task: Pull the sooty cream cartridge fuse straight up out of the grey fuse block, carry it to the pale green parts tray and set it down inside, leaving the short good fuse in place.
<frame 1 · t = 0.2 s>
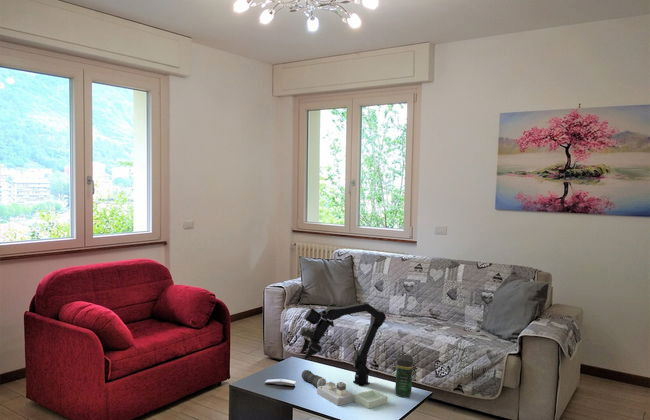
hand: (303, 355, 254), 15 cm above the table, tool tilted 30°, fingers open, 9 cm apart
parts tray: (370, 402, 238), on the table
good fuse: (330, 394, 244), resting in fuse block
coffee jar: (403, 394, 250), on the table
blown fuse: (340, 400, 238), resting in fuse block
flashlight: (313, 384, 257), on the table
fuse block: (335, 397, 241), on the table
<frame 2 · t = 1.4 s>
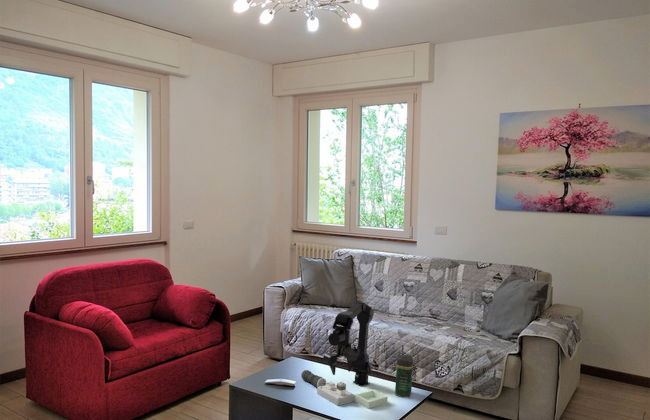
hand: (341, 373, 238), 13 cm above the table, tool pointing down, fingers open, 9 cm apart
nothing on the table moved.
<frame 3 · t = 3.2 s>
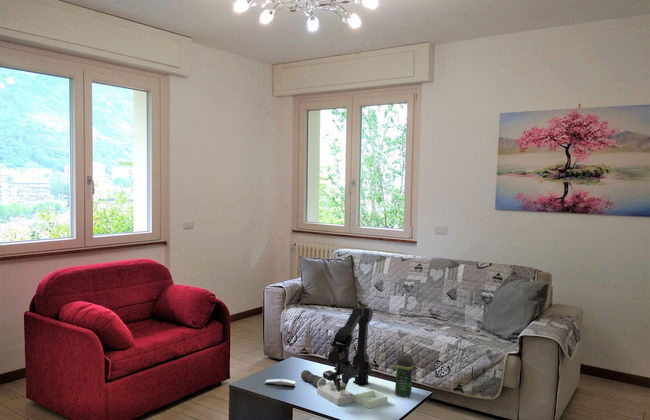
hand: (341, 390, 238), 5 cm above the table, tool pointing down, fingers closed on blown fuse, 3 cm apart
blown fuse: (340, 400, 238), resting in fuse block, touching gripper
everything else where it was.
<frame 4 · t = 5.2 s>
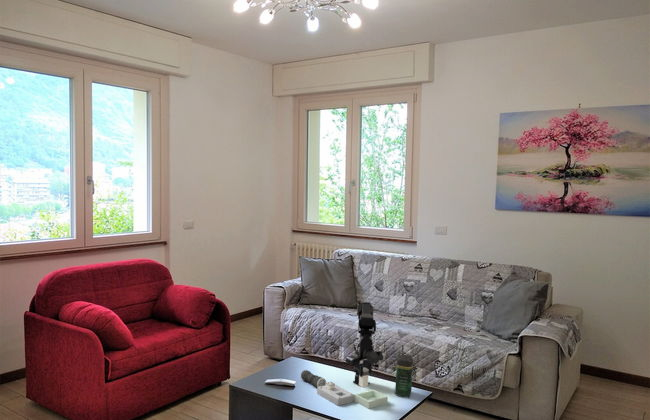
hand: (363, 376, 237), 12 cm above the table, tool pointing down, fingers closed on blown fuse, 3 cm apart
blown fuse: (363, 385, 237), point 8 cm above the table, touching gripper
everything else where it was.
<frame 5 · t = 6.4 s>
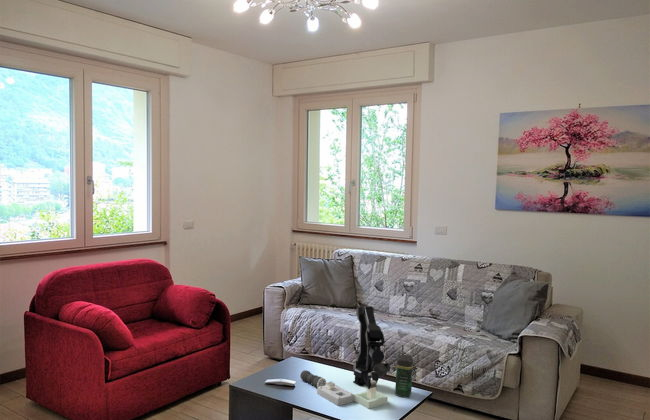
hand: (371, 388, 237), 7 cm above the table, tool pointing down, fingers closed on blown fuse, 3 cm apart
blown fuse: (370, 397, 238), point 2 cm above the table, touching gripper
everything else where it was.
when the fingers open (6 cm above the table, at t = 7.2 s): blown fuse stays where it is, resting on parts tray.
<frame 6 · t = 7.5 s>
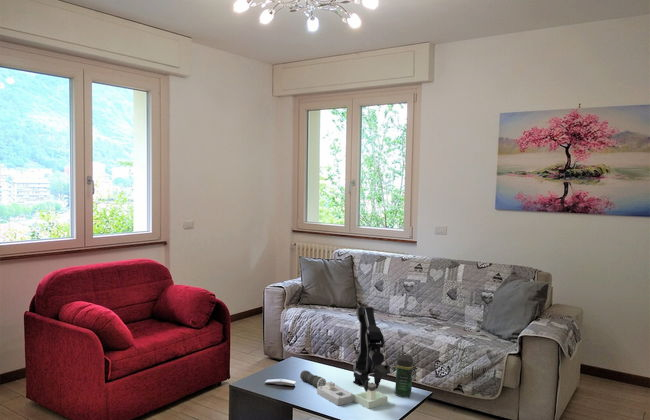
hand: (371, 389, 237), 6 cm above the table, tool pointing down, fingers open, 6 cm apart
blown fuse: (370, 400, 238), point 1 cm above the table, touching parts tray
everything else where it was.
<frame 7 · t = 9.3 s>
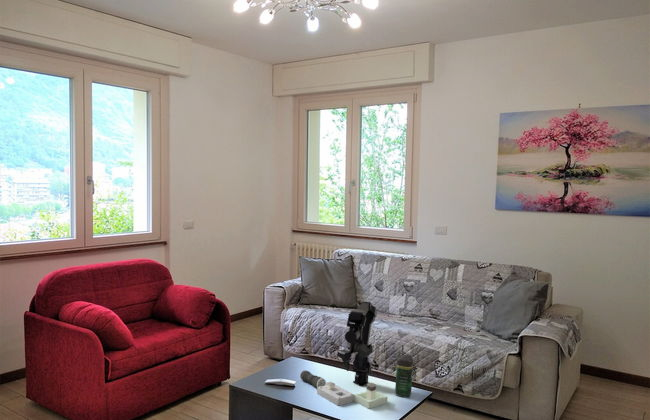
hand: (354, 369, 245), 13 cm above the table, tool pointing down, fingers open, 9 cm apart
nothing on the table moved.
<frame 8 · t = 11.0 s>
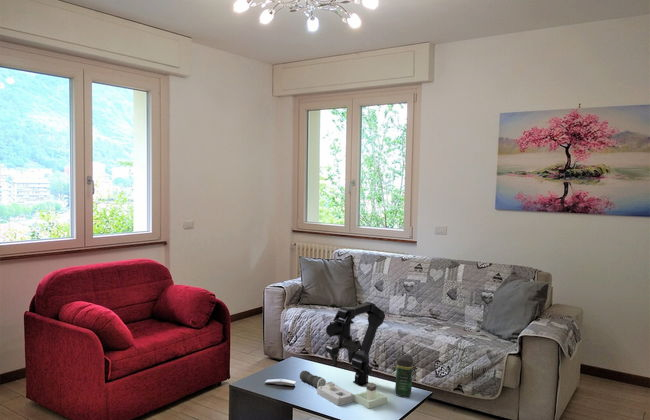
hand: (342, 364, 250), 13 cm above the table, tool pointing down, fingers open, 9 cm apart
nothing on the table moved.
at the end: blown fuse inside the target area on the parts tray (0.0 cm from its centre), point 0.6 cm above the parts tray's base; the gripper is holding nothing; good fuse moved 0.0 cm from its start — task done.
